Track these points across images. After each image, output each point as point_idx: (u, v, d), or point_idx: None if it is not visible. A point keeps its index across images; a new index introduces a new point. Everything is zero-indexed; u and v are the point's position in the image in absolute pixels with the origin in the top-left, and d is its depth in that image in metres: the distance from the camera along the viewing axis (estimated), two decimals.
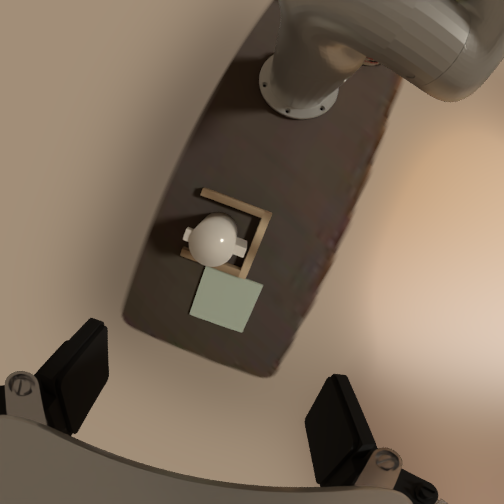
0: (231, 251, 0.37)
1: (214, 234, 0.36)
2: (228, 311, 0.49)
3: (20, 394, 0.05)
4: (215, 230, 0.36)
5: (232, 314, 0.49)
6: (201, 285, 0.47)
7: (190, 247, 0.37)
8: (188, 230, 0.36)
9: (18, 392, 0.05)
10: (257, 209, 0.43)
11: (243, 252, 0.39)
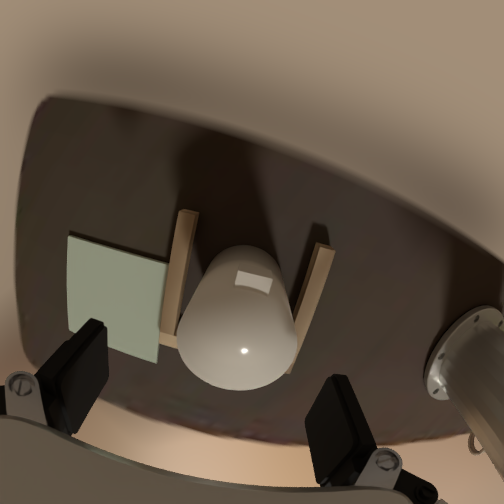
0: (226, 385, 0.14)
1: (264, 351, 0.13)
2: (94, 309, 0.23)
3: (20, 394, 0.05)
4: (275, 352, 0.13)
5: (91, 315, 0.23)
6: (125, 258, 0.21)
7: (219, 296, 0.13)
8: (267, 286, 0.13)
9: (18, 393, 0.05)
10: (296, 353, 0.22)
11: None
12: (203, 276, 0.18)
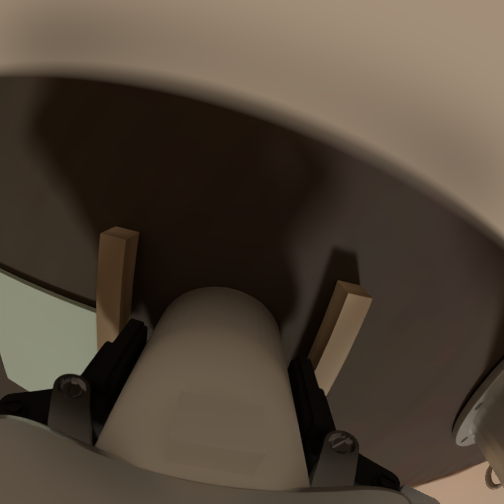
0: None
1: None
2: (25, 360, 0.13)
3: (68, 396, 0.06)
4: None
5: (25, 366, 0.14)
6: (45, 299, 0.12)
7: None
8: (252, 463, 0.04)
9: (67, 394, 0.06)
10: None
11: None
12: None
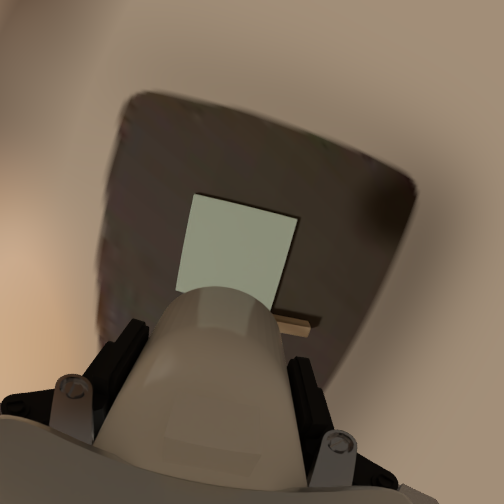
0: None
1: None
2: (224, 236, 0.27)
3: (70, 396, 0.06)
4: None
5: (217, 231, 0.27)
6: (275, 278, 0.28)
7: None
8: (247, 464, 0.04)
9: (69, 394, 0.06)
10: None
11: None
12: (140, 354, 0.09)
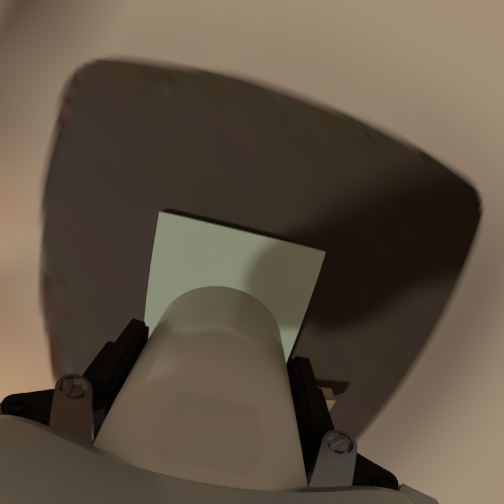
0: None
1: None
2: (208, 279, 0.17)
3: (70, 396, 0.06)
4: None
5: (197, 271, 0.17)
6: (289, 339, 0.18)
7: None
8: (247, 463, 0.04)
9: (69, 394, 0.06)
10: None
11: None
12: (140, 353, 0.09)
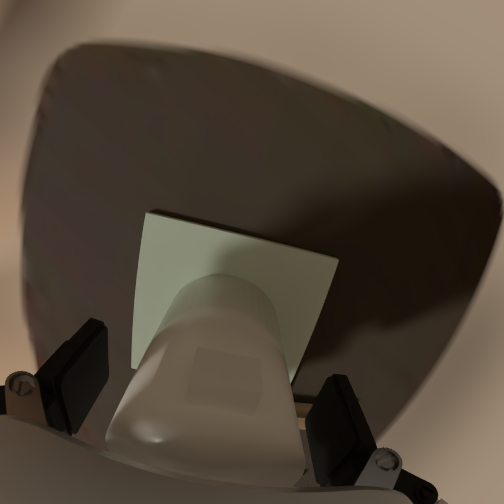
0: None
1: (250, 476, 0.06)
2: None
3: (20, 394, 0.05)
4: (268, 477, 0.06)
5: None
6: (295, 357, 0.16)
7: (159, 415, 0.06)
8: (252, 401, 0.06)
9: (18, 393, 0.05)
10: None
11: None
12: None
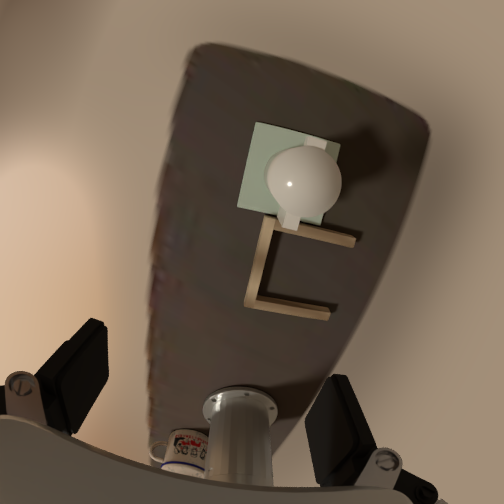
0: (299, 213, 0.23)
1: (323, 185, 0.23)
2: None
3: (20, 394, 0.05)
4: (329, 187, 0.23)
5: (275, 152, 0.30)
6: None
7: (299, 149, 0.22)
8: (324, 145, 0.22)
9: (18, 393, 0.05)
10: (262, 308, 0.35)
11: (290, 226, 0.26)
12: (271, 159, 0.27)
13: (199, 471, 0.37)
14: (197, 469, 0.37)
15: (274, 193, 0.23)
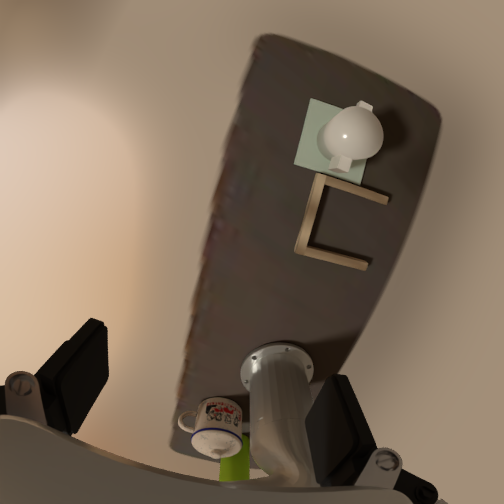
0: (353, 154, 0.28)
1: (370, 136, 0.27)
2: None
3: (20, 394, 0.05)
4: (374, 138, 0.27)
5: None
6: (363, 159, 0.37)
7: (354, 108, 0.26)
8: (371, 108, 0.27)
9: (18, 392, 0.05)
10: (311, 255, 0.39)
11: (343, 168, 0.30)
12: (327, 122, 0.32)
13: (234, 438, 0.39)
14: (232, 435, 0.39)
15: (335, 136, 0.27)
